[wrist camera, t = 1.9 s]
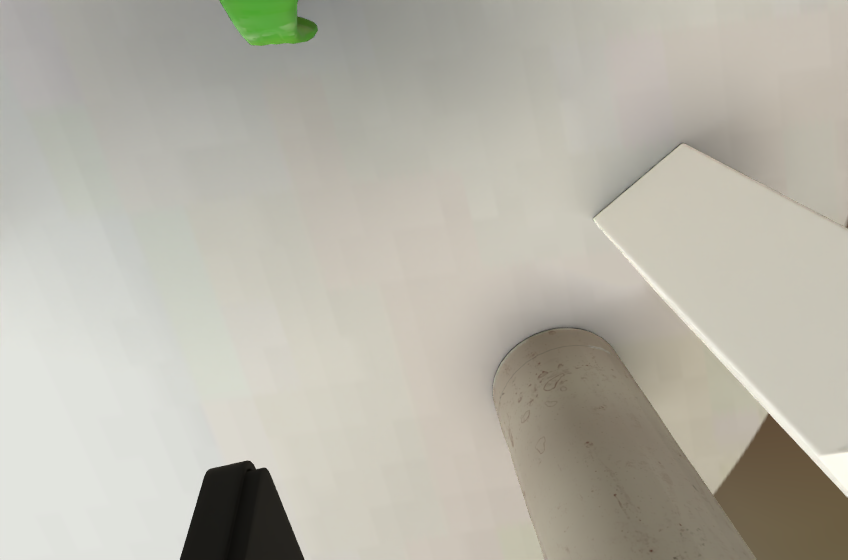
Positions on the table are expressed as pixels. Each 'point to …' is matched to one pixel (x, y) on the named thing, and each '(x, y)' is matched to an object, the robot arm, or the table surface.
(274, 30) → the snack cup
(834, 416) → the milk
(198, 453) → the table surface
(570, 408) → the thermos bottle
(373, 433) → the table surface
